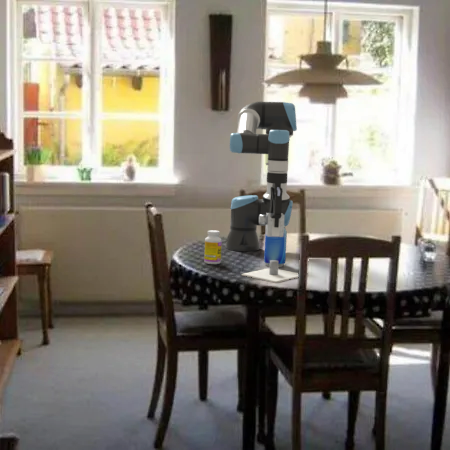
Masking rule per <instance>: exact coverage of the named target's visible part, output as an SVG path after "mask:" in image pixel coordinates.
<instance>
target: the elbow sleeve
mask: <svg viewBox="0 0 450 450" xmlns="http://www.w3.org/2000/svg"><path fill="white" fill-rule="evenodd" d="M272 216H273V213H266V215H259V224H261V225H266V226H265V230H264V231H265V234H266V236H267V237H284V216H285V215H284V214H282V213H281V218H280V233H279V236H272V220H273V218H271V217H272Z"/></svg>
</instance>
